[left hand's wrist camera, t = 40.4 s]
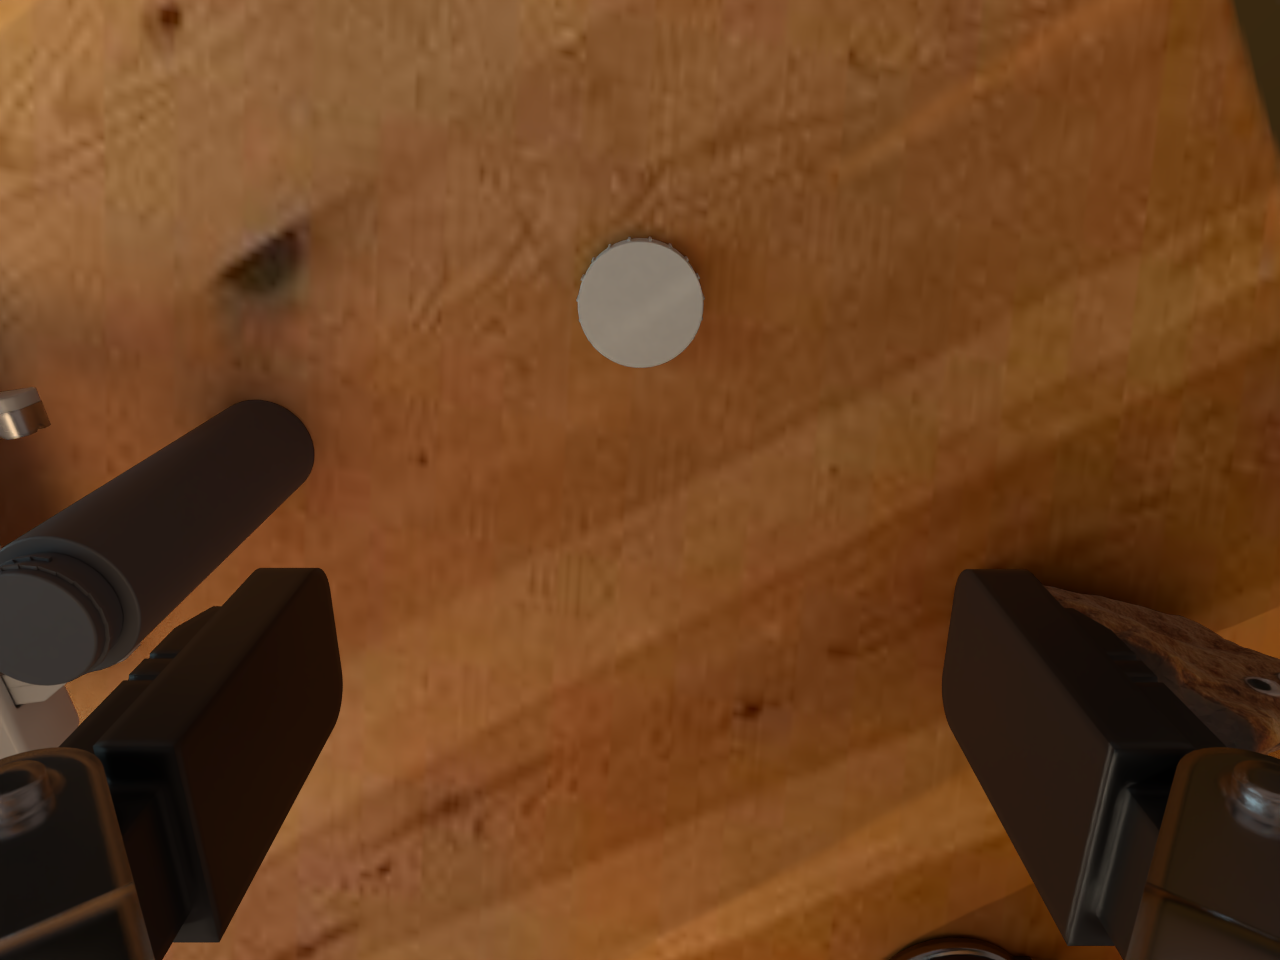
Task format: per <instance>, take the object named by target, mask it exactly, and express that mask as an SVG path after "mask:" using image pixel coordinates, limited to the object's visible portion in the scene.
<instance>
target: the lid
mask: <svg viewBox="0 0 1280 960" xmlns="http://www.w3.org/2000/svg"><path fill="white" fill-rule="evenodd" d="M688 261H689V259H688V257H687V256H685V257H684V256H683V255H682V254H681V253H680V252H679V251H677V250H676V249H675V248H673V247H672V245H671V244H670V243H669V244H666V243H664V242H661V241H658V240H654V239H652V237H650V236H649V238H633V239H631V237H628V239H627V240H623V241H620V242H618V243H615V244H613V245H611V244H609V245H608V248H607V249H605V250H604V251H603V252H601V253H600V254H599V255H598V256H597V257H596V258H595V257H593V259H592V261H591V262H592V263H591V265H590V266H589V268H588V270H587V272H586V274H585V275H583V276H582V278H581V281H582V283H581V286H580V290H579V295H578V297H577V300H576V301H578V313H579V322H580V323H581V326H582V328H583V331H584V333H585V335H586V337H587V338H588V341H590V343H591V344H592V345H593V346H594V347H595V348H596V349H597V350H598V351H599V352H600V353H601V354H602V355H603V356H605V357H606V358H608V359H610V360H611V361H613V362H616V363H618V364H621V365H624V366H628V367H635V368H646V367H653V366H657V365H661V364H663V363H666V362H668V361H670V360H672V359H673V358H675V357H676V356H678V355H679V354H680V353H681V352H683V351H684V350H685V349H686V348H687V347H688V345H689V344H690V343H691V342H692V340H693V339H694V338H695V335H696V333H697V331H698V329H699V326H700V323H701V321H702V320H703V317H702V315H703V300H705V297H704V295H703V293H702V289H701V286H700V283H699V279H700V277H699V275H698V273H695V272H694V270H693V268H692V266H691V265H690V263H689V262H688Z"/></svg>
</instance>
